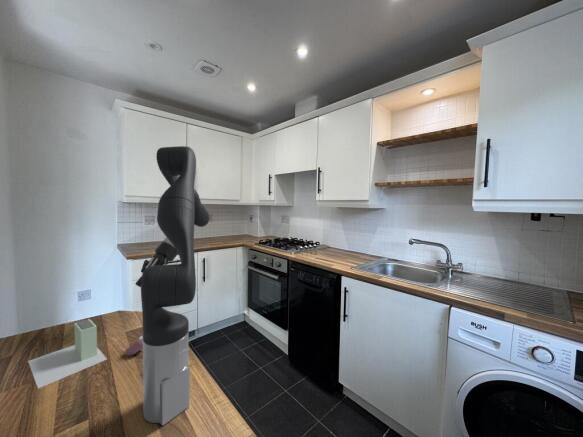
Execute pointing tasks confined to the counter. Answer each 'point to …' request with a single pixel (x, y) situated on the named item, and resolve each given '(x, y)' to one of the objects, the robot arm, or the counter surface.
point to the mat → (60, 365)
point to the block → (85, 339)
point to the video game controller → (135, 346)
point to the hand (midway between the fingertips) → (138, 285)
